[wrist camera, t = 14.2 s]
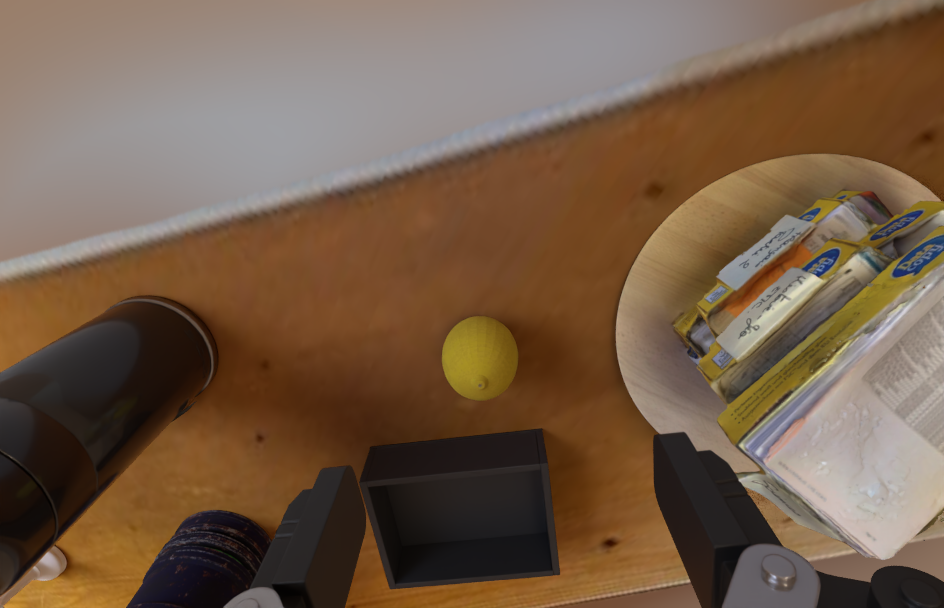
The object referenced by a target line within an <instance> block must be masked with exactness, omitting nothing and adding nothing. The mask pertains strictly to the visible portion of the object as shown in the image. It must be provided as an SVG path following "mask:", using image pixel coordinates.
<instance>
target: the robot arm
mask: <svg viewBox="0 0 944 608" xmlns="http://www.w3.org/2000/svg"><path fill="white" fill-rule="evenodd" d="M217 365H218V353H217V348H216V345H215V342H214V339H213V337H212V335H211V333H210V332H209V330H208V329H207V327H206V326H205V325H204V323H203V322H202V321H201V320H200V319H199V318H198V317H197V316H196V315H195V314H193V313H192V312H191V311H190V310H188V309H187V308H185V307H183V306H182V305H180V304H178V303H176V302H173V301H171V300H168V299H165V298H161V297H156V296H136V297H131V298H128V299H125V300H123V301H121V302H119V303H117V304H116V305H114V306H112V307H110V308H109V309H108V310H106V311H105V312H104V313H103V314H101V315H99V316H98V317H96V318H94V319H92V320H91V321H89V322H87V323H85V324H83V325H82V326H80V327H78V328H77V329H75V330H73V331H71V332H70V333H68V334H66V335H64V336H63V337H61V338H59V339H58V340H56V341H54V342H52V343H51V344H49V345H47V346H46V347H44V348H42V349H40V350H39V351H37V352H35V353H33V354H32V355H30V356H28V357H27V358H25V359H23V360H21V361H20V362H18V363H16V364H15V365H13V366H11V367H9V368H8V369H6V370H4V371H2V372H1V373H0V597H1V596H2V595H4V594H5V593H7V592H8V591H9V590H11V589H12V588H13V587H14V586H15V585H16V584H17V583H18V582H19V581H20V580H21V579H22V578H23V577H24V576H25V575H27V573H28V572H29V571H30V570H31V569H32V568H33V567H34V566H35V565H36V564H37V563H38V562H39V561H40V560H41V559H42V558H43V557H44V556H45V554H46V553H47V552H48V551H49V550H50V549H51V548H52V547H53V546H54V545H55V544H56V543H57V542H58V541H59V540H60V539H61V538H62V537H63V536H64V535H65V534H66V533H67V531H68V530H69V529H70V528H71V527H72V526H73V525H74V524H75V523H76V522H77V521H78V520H79V519H80V518H81V517H82V516H83V515H84V514H85V512H86V511H87V510H88V509H89V508H90V507H91V506H92V505H93V504H94V503H95V502H96V501H97V500H98V498H99V497H100V496H101V495H102V494H103V493H104V492H105V491H106V490H107V489H108V488H109V487H110V486H111V485H112V484H113V483H114V482H115V481H116V480H117V478H118V477H119V476H120V475H121V474H122V473H123V472H124V471H125V470H126V469H127V468H128V467H129V466H130V465H131V464H132V463H133V462H134V461H135V460H136V458H137V457H138V456H139V455H140V454H141V453H142V452H143V451H144V450H145V449H146V448H147V447H148V446H149V445H150V444H151V443H152V442H153V441H154V440H155V438H156V437H157V436H158V435H159V434H160V433H161V432H162V431H163V430H164V429H165V428H166V427H167V426H168V425H169V424H170V423H171V422H172V421H174V420H175V419H177V418H178V417H179V416H181V415H182V414H184V413H185V412H187V411H188V410H189V409H190V408H191V406H192V405H193V404H194V403H195V402H194V403H193V404H191V405H190V406H189V407H187V408H186V409H184V408H185V407H186V406H187V405H188V404H189V403H190V402H191V401H192V399H193V398H194V397H196V396H197V395H199V394H200V393H201V392H202V391H203V390H204V389H205V388H206V387H207V386H208V385H209V383H210V382H211V381H212V379H213V377H214V376H215V373H216V370H217ZM183 409H184V410H183ZM182 410H183V411H182ZM653 454H654V487H655V493H656V498H657V501H658V504H659V507H660V510H661V512H662V514H663V517H664V519H665V522H666V524H667V526H668V529H669V531H670V533H671V536H672V538H673V541H674V543H675V545H676V548H677V550H678V552H679V555H680V557H681V559H682V562H683V564H684V567H685V569H686V571H687V574H688V576H689V578H690V581H691V583H692V586H693V588H694V590H695V592H696V595H697V597H698V599H699V602H700V605H701V607H702V608H944V582H943V581H941V580H939V579H938V578H936V577H934V576H932V575H930V574H928V573H925V572H922V571H920V570H917V569H913V568H910V567H904V566H887V567H883V568H881V569H879V570H877V571H876V572H875V573H874V574H873V576H872V578H871V583H869V582H865V581H859V580H854V579H848V578H843V577H837V576H832V575H828V574H824V573H822V572H819V571H816V570H815V569H814V567H813V566H812V565H811V564H810V563H809V562H808V561H807V560H806V559H805V558H803V557H802V556H800V555H799V554H798V553H796V552H794V551H792V550H790V549H788V548H785V547H783V545H782V544H781V543H780V541H779V540H778V538H777V537H776V535H775V533H774V532H773V530H772V529H771V527H770V526H769V524H768V523H767V521H766V520H765V518H764V517H763V515H762V514H761V512H760V511H759V509H758V508H757V506H756V505H755V503H754V502H753V500H752V498H751V497H750V495H748V494H747V491H746V489H745V488H744V486H743V485H742V483H741V482H739V479H738V477H737V476H736V474H735V473H734V471H733V470H732V468H731V467H730V465H729V464H728V462H726V461H725V460H724V459H722V458H721V457H719V456H718V455H717V454H715V453H714V452H713V451H711V450H704V451H697V450H696V448H695V447H694V445H693V443H692V442H691V440H690V438H689V437H688V435H687V434H686V433H685V432H676V433H666V434H657V435H654V439H653ZM365 529H366V513H365V508H364V504H363V501H362V497H361V494H360V490H359V487H358V483H357V480H356V476H355V473H354V470H353V468H352V467H351V466H350V465H349V466H339V467H329V468H323V469H322V470H321V471H320V473H319V475H318V477H317V480H316V482H315V484H314V487H313V489H307V490H303V491H302V492H301V493H300V494H299V495H298V496H297V497H296V498H295V499H294V500H293V501H292V502H291V504H290V505H289V506H288V508H287V511H286V513H285V515H284V517H283V519H282V521H281V525H279V527H278V530H277V532H276V534H275V539H273V540H272V542H271V544H270V546H269V549H268V551H267V553H266V555H265V557H264V559H263V561H262V563H261V565H260V568H259V570H258V572H257V574H256V576H255V578H254V580H253V582H252V584H251V587H250V589H249V590H247V591H244V592H243V593H241V594H239V595H237V596H236V597H234V598H233V599H232V600H231V601H229V602H228V603H227V604H226V605H225V606H224V607H223V608H345V605H346V601H347V597H348V594H349V590H350V586H351V583H352V579H353V575H354V572H355V568H356V564H357V561H358V557H359V553H360V549H361V546H362V542H363V538H364V535H365Z"/></svg>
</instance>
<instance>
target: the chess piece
mask: <svg viewBox="0 0 944 608" xmlns="http://www.w3.org/2000/svg"><path fill="white" fill-rule="evenodd" d="M66 565H67V562H66V558H65V556H64V554H63V553H62V552H61V551H60V550H59V549H58V548H57V547H55V546H53V547H52V548H51V549H50V550H49V551H48V552H47V553H46V554H45V556H44V557H43V558H42V559H41V560H40V561H39V562H38V563H37V564H36V565H35V566H34V567H33V568H32V569H31V570H30V571H29V572H28V573H27V575H25V576H24V577H23V578H22V579H21V580H20V581H19V582H18V583H17V584H16V585H15V586H14V587H13V588H12V589H11V590H9V591H8V592H7V593H5V594H4V595H2V596H1V597H0V608H4V607H3V606H4V605H5V604H6V603H7V602H8V601H9V600H10V599H11V598H12V597H13V596H15V595H16V594H17V593H18V592H19V591H20V590H21V589H22V588H24V587H25V586H26V585H27V584H28V583H29V582H31V581H32V580H41V581H46V580H51V579H54V578H56V577H57V576H59V574H60V573H62V572H63V571H64V570H65V568H66Z"/></svg>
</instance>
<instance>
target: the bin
mask: <svg viewBox="0 0 944 608" xmlns="http://www.w3.org/2000/svg"><path fill="white" fill-rule="evenodd" d="M359 484H360V487H361V490H362V494H363V497H364V501H365V504H366V508H367V511H368V515H369V518H370V522H371V525H372V529H373V532H374V536H375V539H376V543H377V546H378V550H379V553H380V556H381V560H382V563H383V567H384V570H385V574H386V577H387V581H388V584H389V588H390V589H401V588H413V587H424V586H436V585H448V584H460V583H472V582H483V581H495V580H507V579H519V578H531V577H543V576H553V575H560V568H559V559H558V550H557V541H556V532H555V523H554V514H553V505H552V496H551V487H550V478H549V469H548V461H547V455H546V449H545V444H544V438H543V432H542V429H534V430H524V431H515V432H506V433H496V434H487V435H477V436H468V437H459V438H449V439H440V440H430V441H421V442H412V443H402V444H393V445H383V446H374V447H370V450H369V453H368V456H367V460H366V463H365V466H364V469H363V472H362V475H361V478H360V481H359Z"/></svg>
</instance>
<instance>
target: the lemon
mask: <svg viewBox="0 0 944 608" xmlns="http://www.w3.org/2000/svg"><path fill="white" fill-rule="evenodd" d="M442 365H443V370H444V374H445V376H446V378H447V380H448V382H449V384H450V385H451V386H452V388H453V389H454V390H455V391H456V392H457V393H459V394H460V395H462V396H463V397H466V398H469V399H472V400H478V401H480V400H488V399H491V398H495V397H496V396H498V395H500V394H502V393H503V392H504V391H505V390H506V389H507V388H508V387H509V385H510V384H511V382H512V380H513V379H514V376H515V373H516V370H517V366H518V349H517V345H516V342H515V339H514V337H513V336H512V334H511V332H510V331H509V329H508V328H507V327H505V326H504V325H503V324H502V323H501V322H499V321H497V320H495V319H493V318H490V317H486V316H475V317H470V318H467V319H465V320H463V321H461V322H460V323H458V324H457V325H456V326H455V327H453V329H452V330H451V331H450V333H449V334H448V336H447V338H446V340H445V343H444V346H443V351H442Z"/></svg>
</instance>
